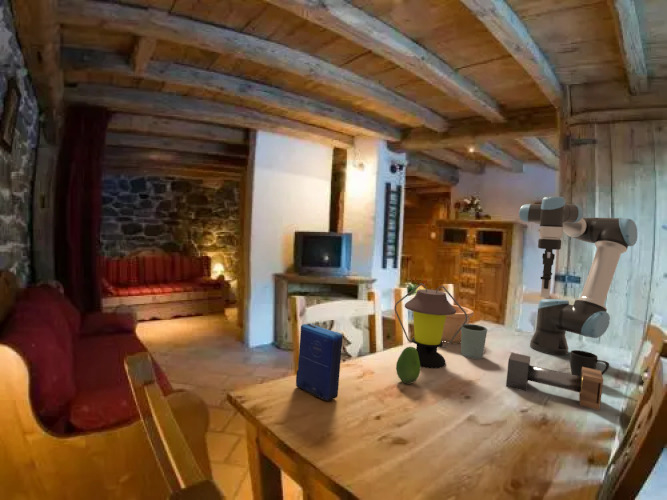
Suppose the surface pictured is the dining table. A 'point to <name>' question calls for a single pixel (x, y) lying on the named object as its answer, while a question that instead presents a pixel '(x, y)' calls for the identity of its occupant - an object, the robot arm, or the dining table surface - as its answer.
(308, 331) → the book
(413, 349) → the fruit
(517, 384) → the sleeve
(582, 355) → the mug
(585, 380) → the socket
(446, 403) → the dining table surface
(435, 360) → the lantern
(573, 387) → the tube
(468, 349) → the grey green textured cup
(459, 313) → the pottery
